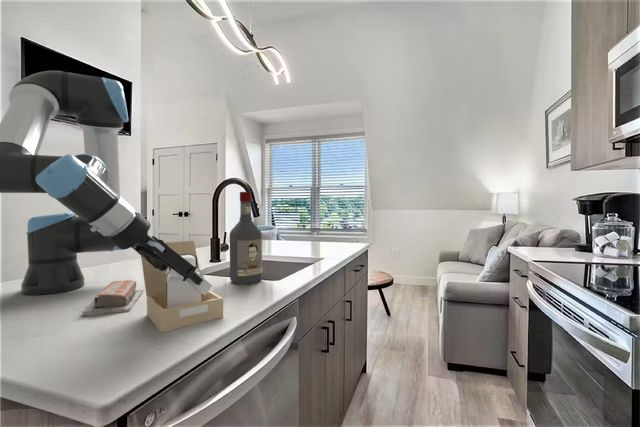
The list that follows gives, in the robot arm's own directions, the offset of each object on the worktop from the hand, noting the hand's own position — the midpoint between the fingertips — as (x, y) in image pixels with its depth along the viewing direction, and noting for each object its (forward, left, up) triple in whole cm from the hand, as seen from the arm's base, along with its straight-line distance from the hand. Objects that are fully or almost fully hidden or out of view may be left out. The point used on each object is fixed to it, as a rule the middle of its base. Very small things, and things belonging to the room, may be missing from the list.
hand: (196, 286), depth 78 cm
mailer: (-3, -3, -6) cm, 8 cm away
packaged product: (-22, -14, -7) cm, 27 cm away
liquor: (-21, +23, -7) cm, 32 cm away
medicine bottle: (+1, -3, -4) cm, 5 cm away
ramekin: (-29, +6, -7) cm, 30 cm away
